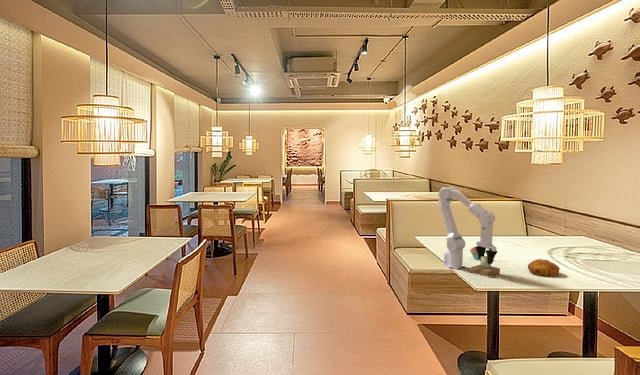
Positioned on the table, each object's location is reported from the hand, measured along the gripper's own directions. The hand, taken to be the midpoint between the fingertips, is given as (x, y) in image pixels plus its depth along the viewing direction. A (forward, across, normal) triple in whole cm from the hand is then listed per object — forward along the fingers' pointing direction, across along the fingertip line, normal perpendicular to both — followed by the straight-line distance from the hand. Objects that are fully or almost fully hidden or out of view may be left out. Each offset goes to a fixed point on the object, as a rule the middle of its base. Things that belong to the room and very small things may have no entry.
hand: (485, 261), depth 216 cm
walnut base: (+6, 0, 0) cm, 6 cm away
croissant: (+6, +6, +30) cm, 31 cm away
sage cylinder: (+3, 0, 0) cm, 3 cm away
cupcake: (+6, -29, +14) cm, 32 cm away
